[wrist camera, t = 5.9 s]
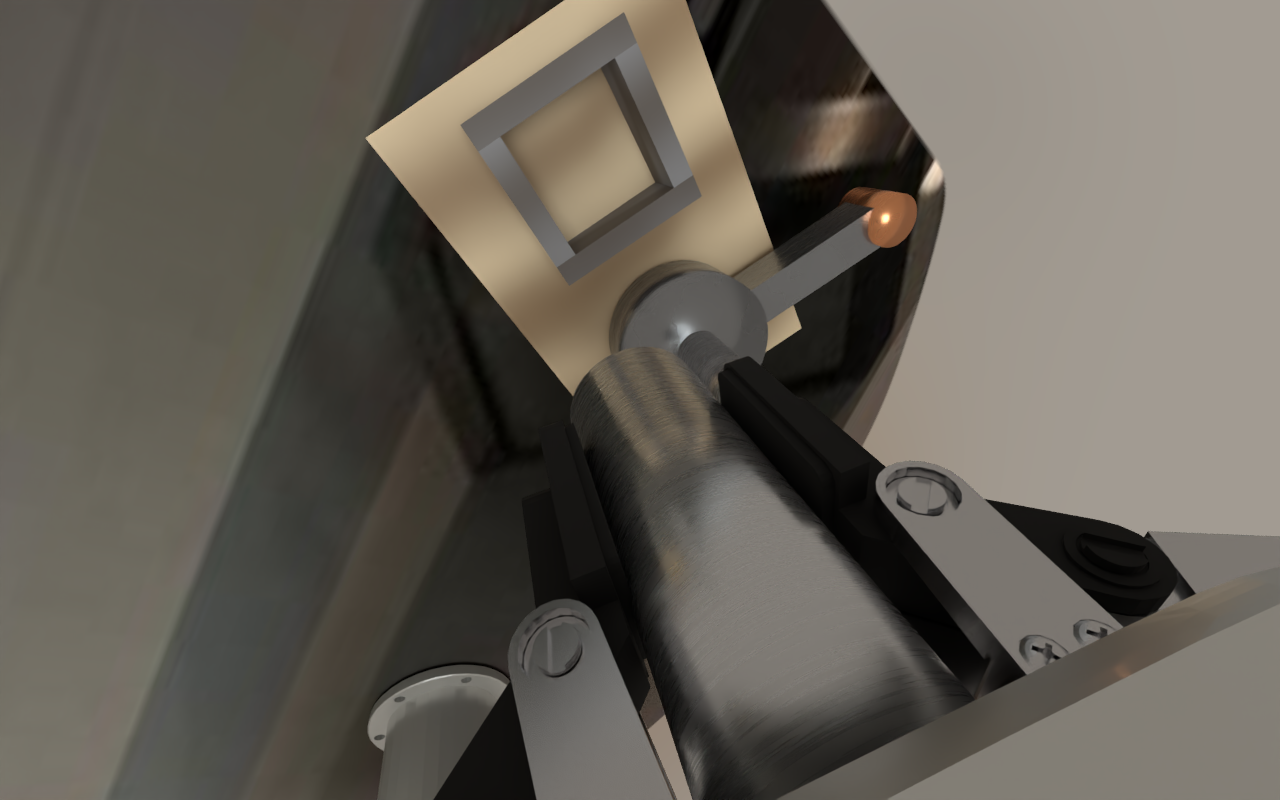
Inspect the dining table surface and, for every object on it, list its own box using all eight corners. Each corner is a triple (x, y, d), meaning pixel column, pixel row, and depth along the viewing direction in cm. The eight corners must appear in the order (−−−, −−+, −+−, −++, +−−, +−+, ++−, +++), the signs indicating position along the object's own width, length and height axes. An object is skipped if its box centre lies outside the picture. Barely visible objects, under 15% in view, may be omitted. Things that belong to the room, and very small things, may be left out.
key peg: (688, 328, 11) (1247, 883, 3) (704, 435, 13) (1078, 951, 5) (552, 372, 11) (801, 1158, 3) (589, 476, 13) (800, 1122, 5)
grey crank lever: (886, 259, 28) (1080, 321, 19) (650, 416, 29) (733, 549, 20) (860, 127, 24) (1098, 128, 15) (580, 316, 24) (647, 428, 15)
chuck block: (760, 303, 34) (826, 343, 27) (599, 411, 34) (628, 475, 28) (625, -32, 22) (686, -92, 16) (384, 136, 22) (352, 139, 16)
